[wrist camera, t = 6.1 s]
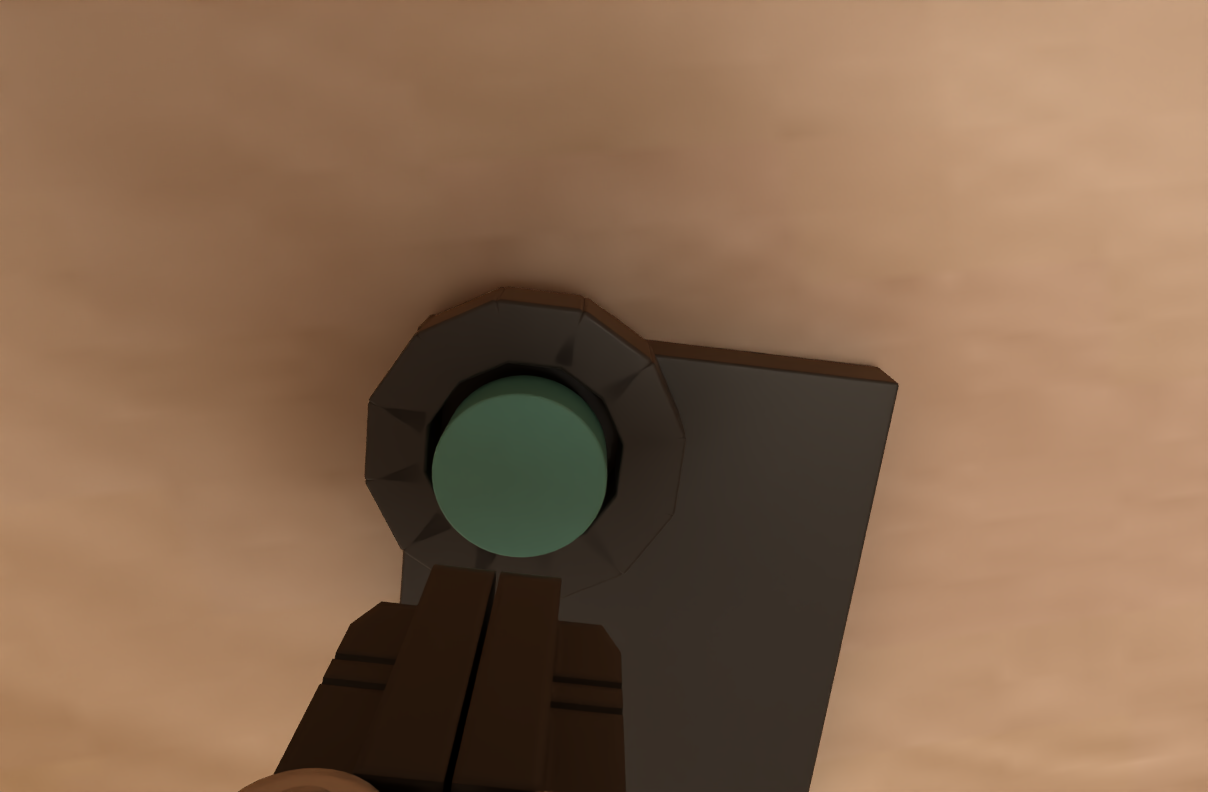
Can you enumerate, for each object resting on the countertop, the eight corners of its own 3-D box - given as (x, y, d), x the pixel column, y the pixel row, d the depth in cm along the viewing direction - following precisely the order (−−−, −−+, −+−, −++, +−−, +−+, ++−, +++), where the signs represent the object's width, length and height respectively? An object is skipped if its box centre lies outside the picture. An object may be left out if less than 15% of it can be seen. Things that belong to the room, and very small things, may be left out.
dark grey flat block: (407, 262, 19) (373, 284, 16) (889, 320, 19) (940, 352, 16) (376, 772, 23) (344, 864, 20) (784, 812, 23) (811, 909, 20)
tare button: (450, 365, 17) (437, 384, 16) (616, 384, 17) (617, 405, 16) (438, 518, 18) (425, 548, 16) (597, 535, 18) (596, 567, 17)
